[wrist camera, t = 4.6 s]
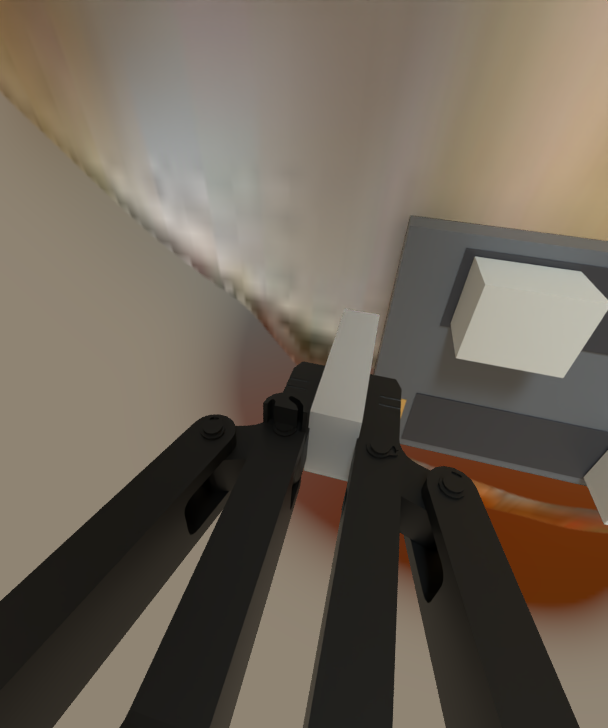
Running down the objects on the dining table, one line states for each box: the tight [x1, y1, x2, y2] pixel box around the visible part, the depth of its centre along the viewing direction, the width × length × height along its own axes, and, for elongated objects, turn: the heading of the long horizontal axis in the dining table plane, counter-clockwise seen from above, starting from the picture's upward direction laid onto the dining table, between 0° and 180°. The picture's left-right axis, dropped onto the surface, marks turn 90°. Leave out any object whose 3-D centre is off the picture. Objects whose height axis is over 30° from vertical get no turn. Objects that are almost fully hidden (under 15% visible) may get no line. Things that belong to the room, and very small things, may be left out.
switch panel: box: [373, 216, 608, 486], centre depth 22 cm, size 24×16×2 cm, turn 86°
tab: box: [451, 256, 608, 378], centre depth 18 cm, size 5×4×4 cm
